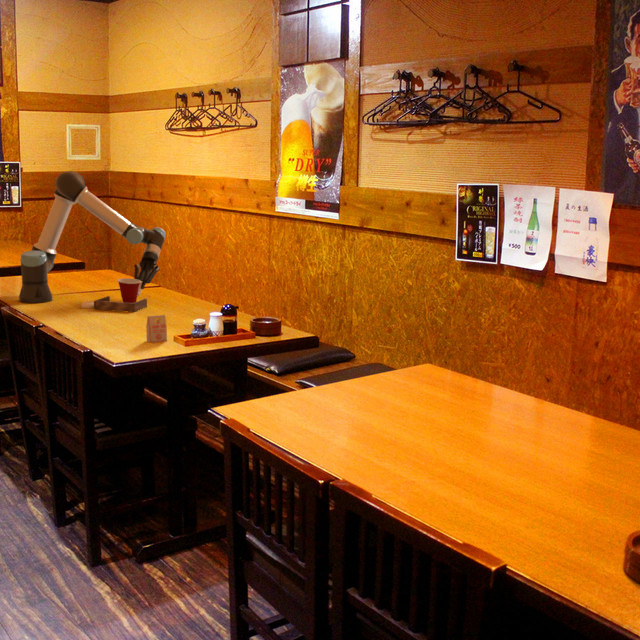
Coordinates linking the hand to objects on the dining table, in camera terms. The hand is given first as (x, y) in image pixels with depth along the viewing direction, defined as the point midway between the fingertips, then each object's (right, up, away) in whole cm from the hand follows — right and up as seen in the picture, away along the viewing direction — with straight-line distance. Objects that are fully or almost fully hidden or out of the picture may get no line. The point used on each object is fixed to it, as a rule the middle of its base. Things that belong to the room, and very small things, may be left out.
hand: (137, 294), depth 366 cm
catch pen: (-4, -7, -13) cm, 16 cm away
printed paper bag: (+25, -21, -74) cm, 81 cm away
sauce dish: (-19, -7, -11) cm, 23 cm away
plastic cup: (-2, -5, -4) cm, 7 cm away
